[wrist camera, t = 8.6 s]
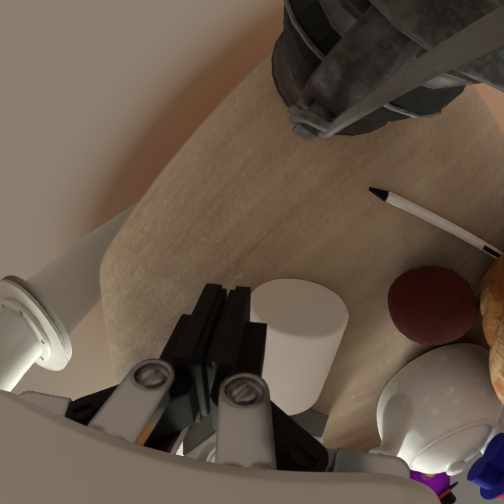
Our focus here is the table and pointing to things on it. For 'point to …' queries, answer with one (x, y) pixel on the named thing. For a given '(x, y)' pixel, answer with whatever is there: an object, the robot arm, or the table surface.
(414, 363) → the teapot
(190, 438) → the alarm clock
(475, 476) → the toy
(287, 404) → the mug
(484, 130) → the table surface
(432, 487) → the toy
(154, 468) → the robot arm
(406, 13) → the lantern
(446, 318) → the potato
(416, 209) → the pen
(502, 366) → the seashell
